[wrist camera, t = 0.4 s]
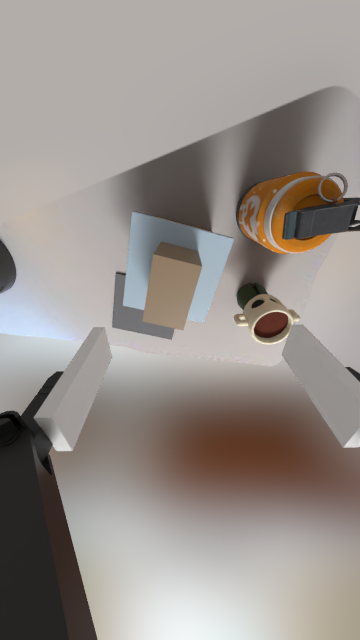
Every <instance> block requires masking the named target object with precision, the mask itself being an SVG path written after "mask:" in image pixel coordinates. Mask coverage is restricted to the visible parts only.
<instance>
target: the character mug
mask: <svg viewBox="0 0 360 640" xmlns="http://www.w3.org/2000/svg"><path fill="white" fill-rule="evenodd" d="M254 284H255V285H256V287H252V286H251V285H250V284H248V285H246V286H244V287H242V289H241V290H240V291H239V292H238V296H237V301H238V305H239V306H240V307H241V308H242V309H243V310H244V311H243V314H236V315H234V319H235V322H236V324H237V325H238V326H247V327H248V329H249V331H250V333H251V335H252V336H253V338H254V339H255V340H256V341H257V342H259V343H262V344H275V343H279V342H280V341H282V340H284V339H286V338H287V337H288V335H289V332H290V329H291V326H292V325H294V322H295V321H299V320H300V317H299V315H298V314H297V313H296V312H295V311H294V310H290V309H289V310H287V308H286V307H285V306H284V305H283V304H282V303H281V301H280V300H278V299H277V298H275V297H273V296H272V295H268V294H267V292H266V290H265V289H264V288H263V287H262V285H259V284H257V283H254ZM240 319H244V320H243V321H241V320H240Z"/></svg>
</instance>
